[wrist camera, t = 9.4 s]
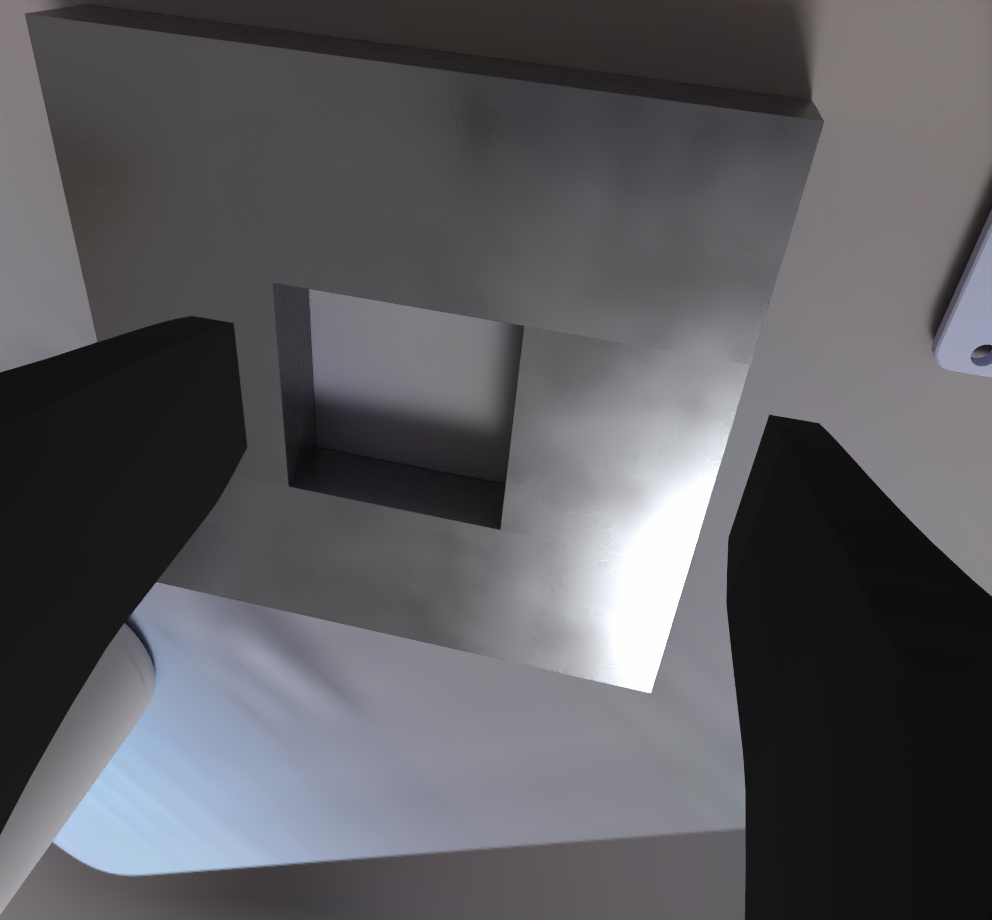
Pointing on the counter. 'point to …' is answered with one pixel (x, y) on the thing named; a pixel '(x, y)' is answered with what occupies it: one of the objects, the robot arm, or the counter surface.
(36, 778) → the pill bottle
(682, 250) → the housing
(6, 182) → the counter surface
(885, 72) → the counter surface
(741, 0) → the counter surface
